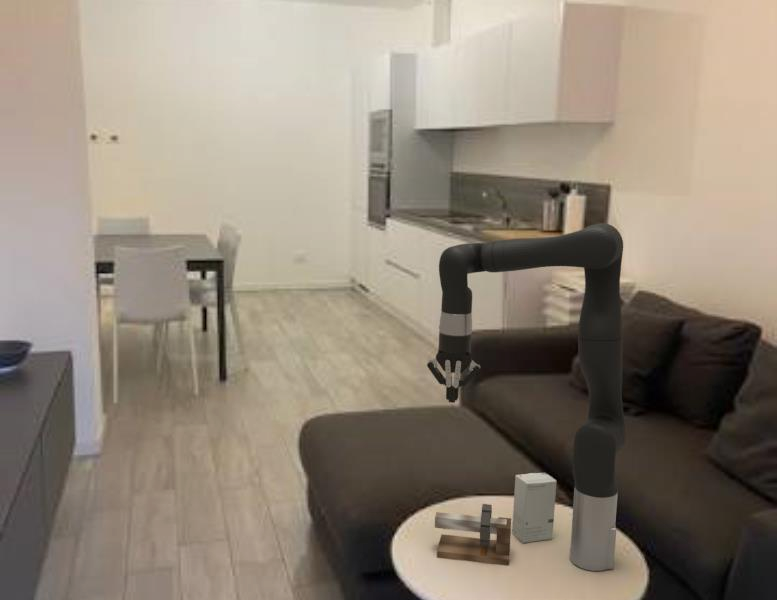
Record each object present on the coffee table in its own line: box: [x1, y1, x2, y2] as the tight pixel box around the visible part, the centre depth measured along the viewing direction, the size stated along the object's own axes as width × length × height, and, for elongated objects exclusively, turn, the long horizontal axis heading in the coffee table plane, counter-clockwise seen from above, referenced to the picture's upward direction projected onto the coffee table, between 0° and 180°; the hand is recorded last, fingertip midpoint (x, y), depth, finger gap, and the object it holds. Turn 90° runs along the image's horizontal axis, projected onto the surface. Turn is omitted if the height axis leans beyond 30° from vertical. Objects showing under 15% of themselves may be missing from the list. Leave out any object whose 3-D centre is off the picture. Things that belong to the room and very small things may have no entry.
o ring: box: [479, 503, 493, 546], centre depth 174 cm, size 2×9×9 cm, turn 169°
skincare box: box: [511, 472, 557, 544], centre depth 183 cm, size 8×6×15 cm
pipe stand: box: [434, 511, 512, 566], centre depth 175 cm, size 17×8×8 cm, turn 79°
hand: (451, 401), depth 183 cm, fingers closed
